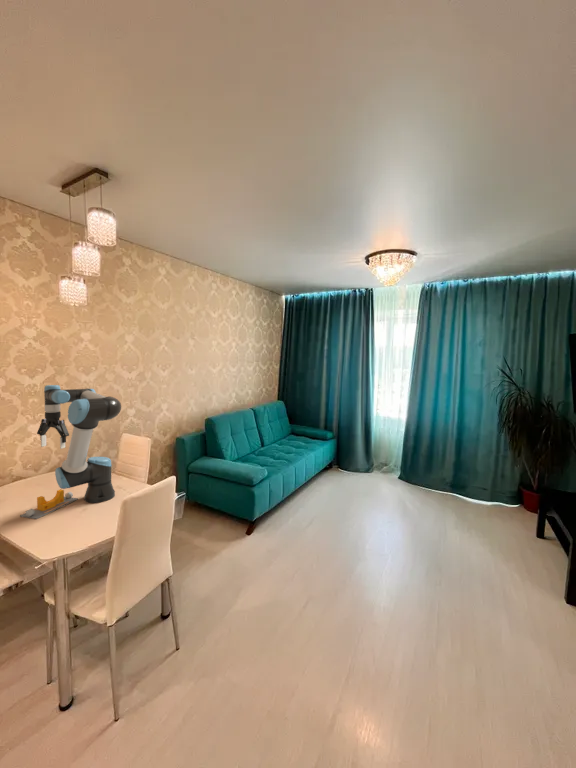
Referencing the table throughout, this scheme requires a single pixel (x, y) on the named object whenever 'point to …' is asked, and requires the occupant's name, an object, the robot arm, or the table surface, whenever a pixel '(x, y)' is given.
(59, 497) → the pipe clamp
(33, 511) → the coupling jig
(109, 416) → the robot arm
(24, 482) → the table surface
